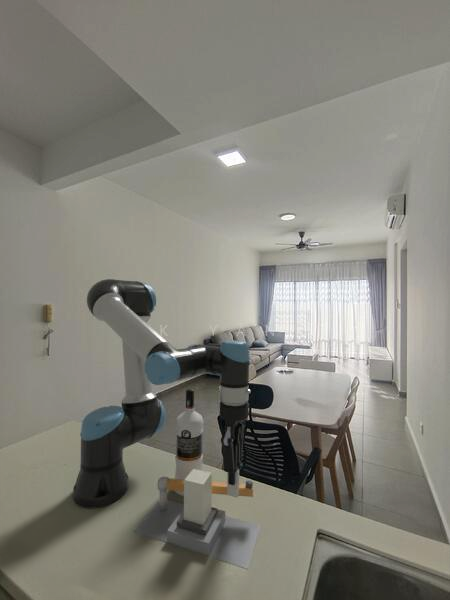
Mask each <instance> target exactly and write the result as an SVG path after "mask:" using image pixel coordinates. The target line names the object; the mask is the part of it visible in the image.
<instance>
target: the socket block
mask: <svg viewBox="0 0 450 600" xmlns="http://www.w3.org/2000/svg"><path fill="white" fill-rule="evenodd" d="M217 509H218V513H217V515H216V517H215V518H214V520H213V522H212V524H211V526H210V528H209V530H208V531H207V533H206V535H204V534H201V533H198V532H195V531H191V530H188V529H185V528H181V527H178V526H177V521H178V519H179V518H180V516H181V515H182V514H183V512H184V503H178V502H175V501H173V500H168V490H166V491H159V501H158V502H157V503H156V504H155V506H154V507H153V508H152V509H151V511H149V512H148V514H147V515H146V516H145V517H144V518H143V519H142V521H141V522H140V523H139V524H138V525H137V526H136V528H135V529H134V530H133V533H137V534H140V535H142V536H146V537H148V538H151V539H154V540H158V541H160V542H163V543H167V544H169V545H173V546H175V547H178V548H182V549H185V550H188V551H191V552H194V553H197V554H200V555H203V556H206V557H208V558H213V559H216V560H218V561H220V562H221V561H222V562H225V563H227V564H230V565H233V566H237V567H240V568H243V569H245V570H248V569H249V567H250V563H251V560H252V556H253V553H254V551H255V547H256V543H257V541H258V537H259V534H260V530H261V527H262V525H260V524H256V523H253V522H250V521H245V520H241V519H238V518H233V517H230V516H227V515H226V511H225V510H223V509H219V508H217Z"/></svg>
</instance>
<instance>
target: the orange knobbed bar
mask: <svg viewBox="0 0 450 600" xmlns="http://www.w3.org/2000/svg"><path fill="white" fill-rule="evenodd" d="M253 484H254V483H253V481H252V480H245V483H239V495H238V497H248V498H249V497H250V498H253V497H254V485H253ZM166 490H167V491H174V492H175V491H184V479H175V478H169V477H168V476H162V477H159V478H158V479H157V491H159V492H160V491H166ZM211 495H222V496H223V495H224V496H228V495H227V482H221V481H212V493H211Z"/></svg>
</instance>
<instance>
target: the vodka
mask: <svg viewBox="0 0 450 600" xmlns="http://www.w3.org/2000/svg"><path fill="white" fill-rule="evenodd" d="M203 432H204V419H203V416H202V415H201V414H200V413H198V412H197V411H196V410H195V389H193V388H186V390H185V411H183V412H182V413H181V414H179V415H178V416H177V418H176V421H175V435H176V439H175V441H176V443H175V473H174V479H184V480H185V478H186V477H187V476H188V475H189V474H190V472H191V471H192V470H193V469H197V470H201V471H204V469H203V457H204V455H203V446H204V445H203V443H204V442H203V438H204V437H203V435H204V434H203ZM174 492H175V493H177V494H178V495H179V496H183V497H184V491H174Z"/></svg>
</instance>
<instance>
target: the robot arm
mask: <svg viewBox="0 0 450 600" xmlns="http://www.w3.org/2000/svg"><path fill="white" fill-rule="evenodd" d="M86 305H87V308H88V310H89V312H90V313H91V314H92V316H93V317H95V318H96V320H98V321H100V322H104V323H106V324H107V326H108V327H109V328H111V330H112V331H114V333H115V334H116V335H117V336H118V337H120V339H122V340H121V342H122V358H123V370H124V371H123V373H124V388H125V389H124V390H125V395H124V397H123V398H122V399H121V406H119V405H109V406H102V407H99V408H96V409H95V410H93V411H91V412H89V413H87V414H86V415H85V417H84V418H83V420H82V421H81V426H80V427H81V428H80V429H81V430H80V469H79V471H78V475H77V477H76V481H75V483H74V486H73V489H72V500H73V503H74V505H76V506H78V507H80V508H84V509H95V508H97V509H98V508H101V507H105V506H109V505H110V504H112V503H114V502H116V501H118V500H120V499H121V498H122V497H123V496H124V495H125V494H126V493H127V491H128V488H129V476H128V473H127V472H126V468H125V464H124V461H123V458H124V457H123V455H124V449H125V448H128V447H130V446H132V445H134V444H136V443H140V442H141V441H144V440H146V439H150V438H152V437H153V436H154V435H156V434H158V433H160V431H161V430H162V429H163V427H164V424H165V421H166V409H165V406H164V405H163V402H162V401H161V400H160V399H158V396H157V394H156V393H155V392H153V390H152V389H153V388H152V384H153V385H154V386H162V385H168V384H173V383H175V382H178V381H181V380H186V379H188V378H189V379H190V378H192V377H193V378H194V377H196V376H200V375H204V374H206V375H207V374H209V375H214V376H218V377H219V397H218V398H219V401H220V402H219V416H220V419H222V420H224V421H225V425H224V426H223V427H224V428H223V429H224V436H221V437H220V443H221V446H222V448H221V449H222V458H223V471H224V473H225V472H226V473H227V475H226V477H227V478H226V479H227V481H226V483H227V495H226V496H230V497H234V498H238V497H239V496H238V495H239V484H240V468H243V466H244V465H243V463H241V462H242V461H243V447H244V435H245V434H244V433H245V426H246V421H245V420H247V419H248V417H249V416H250V415H249V413H250V412H249V411H250V407H249V406H250V403H249V402H248V401H249V398H250V397H249V394H251V389H249V388H250V387H249V383H250V381H249V380H250V360H251V359H250V346H249V344H248V342H246V341H244V340H235V339H234V340H233V339H232V340H231V339H230V340H229V339H228V340H227V339H226V340H223V341H221V342H220V346H213V345H207V344H206V345H205V344H201V343H200V344H199V343H198V344H191V345H188V346H187V347H186V348H179V349H177V348H176V347H174V346H173V345H172V344H171V343H170V342H169V341H168V340H166V339H165V338H164V337H162V336H161V334H159V333H158V332H157V331H156V330H155V329H153V327H151V325H149V324H148V321H149V320H150V319H151V316H152V315H151V313H153V312H154V311H155V309H156V306H157V296H156V292H155V290H154V288H152V286H151V285H149V284H148V283H146V282H140V281H137V280H134V281H133V280H122V279H111V278H110V279H109V278H107V279H102V280H99V281H97V282H96V283H95V284H93V285H92V286H91V287H90V289H89V291H88V292H87V295H86Z"/></svg>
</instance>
